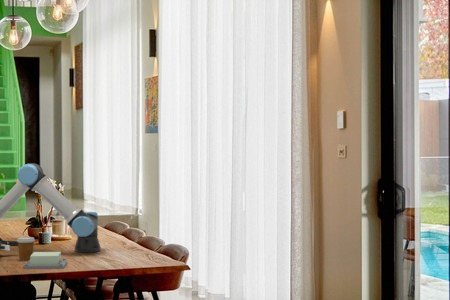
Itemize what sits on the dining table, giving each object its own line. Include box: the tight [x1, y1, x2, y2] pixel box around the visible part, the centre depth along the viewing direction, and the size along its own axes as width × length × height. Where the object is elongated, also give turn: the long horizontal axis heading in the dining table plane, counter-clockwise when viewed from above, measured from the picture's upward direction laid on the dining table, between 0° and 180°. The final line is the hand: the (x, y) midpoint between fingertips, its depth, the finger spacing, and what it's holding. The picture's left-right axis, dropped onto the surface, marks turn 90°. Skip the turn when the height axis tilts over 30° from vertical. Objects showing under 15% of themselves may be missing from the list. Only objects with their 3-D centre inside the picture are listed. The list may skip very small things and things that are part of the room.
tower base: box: [22, 251, 68, 270], centre depth 401 cm, size 20×20×6 cm
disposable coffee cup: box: [16, 236, 36, 262], centre depth 418 cm, size 10×10×12 cm
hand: (19, 246), depth 420 cm, fingers open, 13 cm apart
